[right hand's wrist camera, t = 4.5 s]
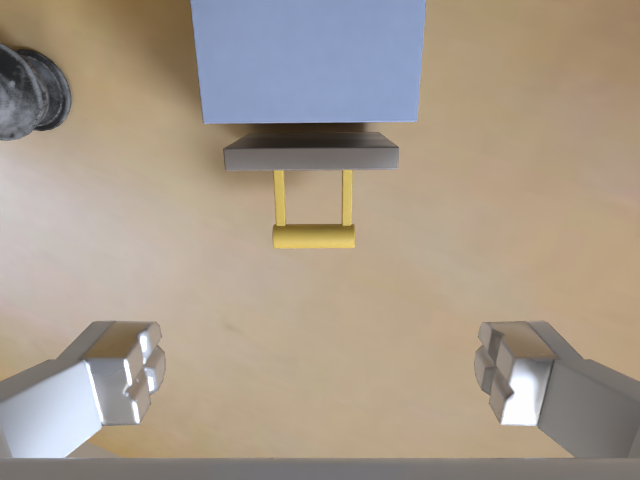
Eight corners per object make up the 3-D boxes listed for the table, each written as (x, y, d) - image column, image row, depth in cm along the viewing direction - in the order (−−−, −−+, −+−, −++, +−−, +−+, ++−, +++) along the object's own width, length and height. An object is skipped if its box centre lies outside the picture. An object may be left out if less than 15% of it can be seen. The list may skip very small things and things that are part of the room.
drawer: (375, 225, 30) (392, 268, 23) (255, 226, 30) (233, 268, 23) (394, -203, 22) (429, -350, 14) (225, -200, 22) (177, -345, 14)
